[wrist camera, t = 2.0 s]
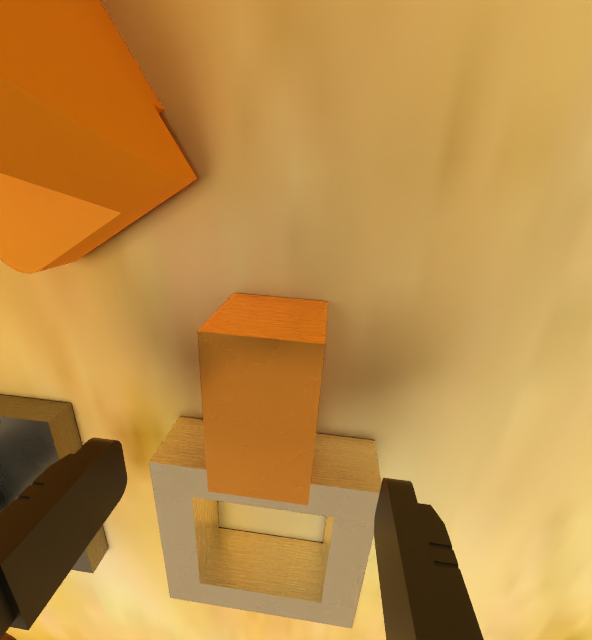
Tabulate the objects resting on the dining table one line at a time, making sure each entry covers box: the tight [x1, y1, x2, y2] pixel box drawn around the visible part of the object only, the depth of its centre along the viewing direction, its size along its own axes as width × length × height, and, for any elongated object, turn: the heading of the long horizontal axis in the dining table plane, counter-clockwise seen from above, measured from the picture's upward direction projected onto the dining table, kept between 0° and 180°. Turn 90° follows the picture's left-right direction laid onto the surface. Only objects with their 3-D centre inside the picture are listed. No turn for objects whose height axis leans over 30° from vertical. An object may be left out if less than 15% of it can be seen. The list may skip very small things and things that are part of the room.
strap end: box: [149, 293, 381, 628], centre depth 15 cm, size 17×10×4 cm, turn 177°
